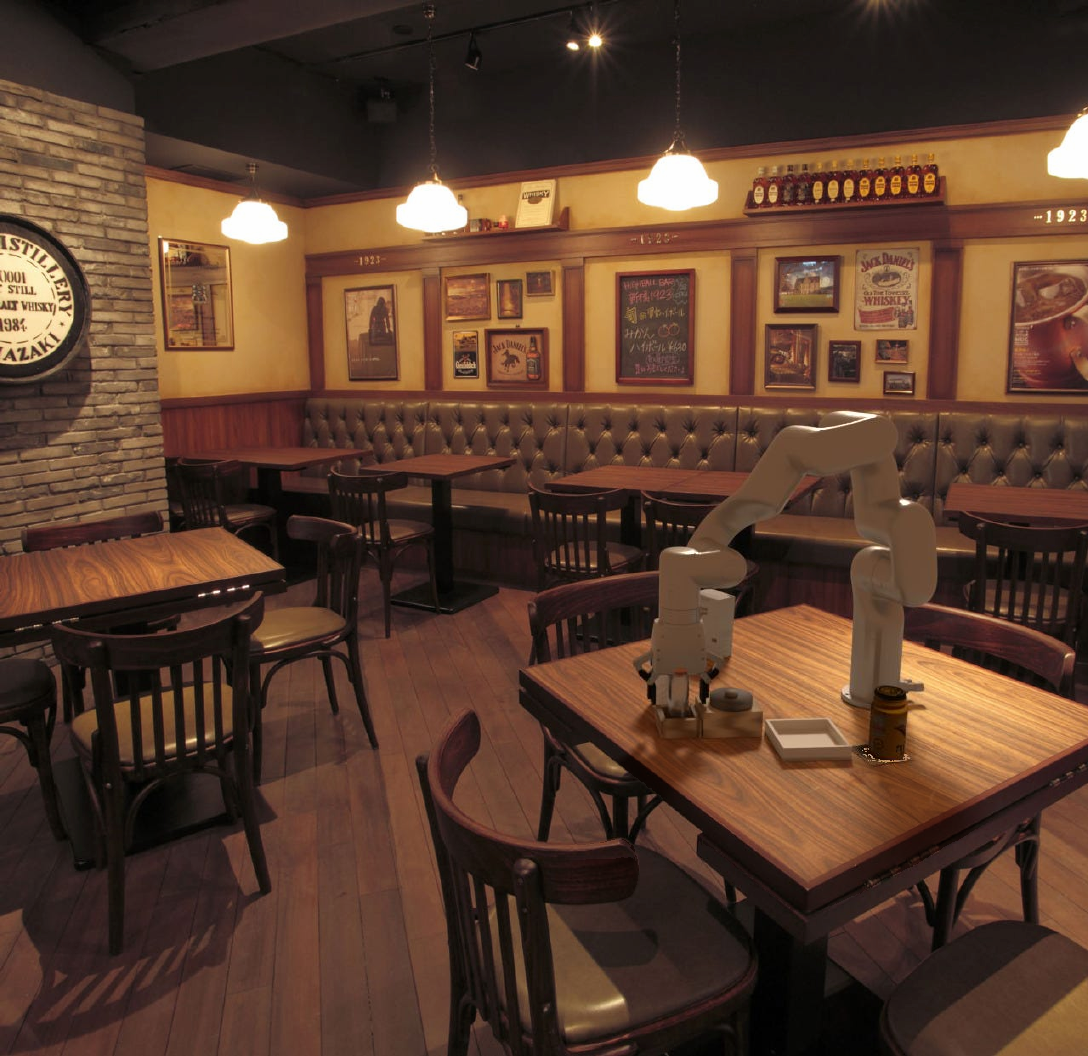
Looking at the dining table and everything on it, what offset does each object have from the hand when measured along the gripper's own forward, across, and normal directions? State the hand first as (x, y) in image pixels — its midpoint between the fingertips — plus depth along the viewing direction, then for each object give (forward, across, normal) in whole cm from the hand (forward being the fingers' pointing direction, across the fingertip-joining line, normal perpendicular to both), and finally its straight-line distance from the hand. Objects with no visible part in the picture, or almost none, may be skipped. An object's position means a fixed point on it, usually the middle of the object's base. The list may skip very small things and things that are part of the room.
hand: (677, 701), depth 164 cm
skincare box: (+6, -15, -41) cm, 44 cm away
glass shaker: (+6, 0, 0) cm, 6 cm away
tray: (+6, -22, +8) cm, 24 cm away
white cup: (+6, 0, -12) cm, 13 cm away
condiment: (+6, -34, +12) cm, 37 cm away
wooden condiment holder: (+6, -6, 0) cm, 8 cm away
